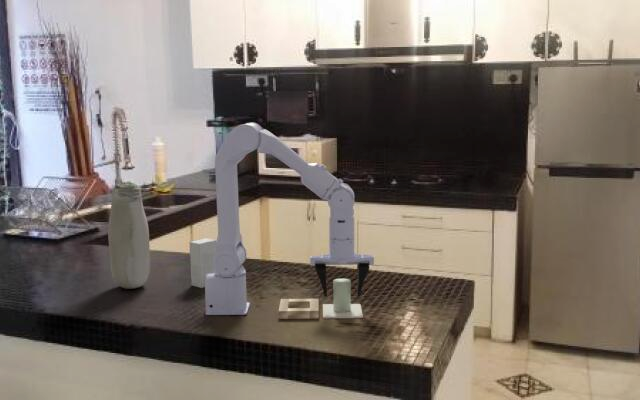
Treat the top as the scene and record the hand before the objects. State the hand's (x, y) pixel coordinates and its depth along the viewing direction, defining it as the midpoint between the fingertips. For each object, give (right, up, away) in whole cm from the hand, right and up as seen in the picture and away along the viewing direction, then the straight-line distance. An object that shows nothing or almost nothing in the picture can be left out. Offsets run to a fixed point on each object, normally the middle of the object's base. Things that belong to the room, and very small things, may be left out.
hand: (342, 295), depth 154 cm
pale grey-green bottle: (-55, -1, +22) cm, 59 cm away
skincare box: (-36, -1, +24) cm, 43 cm away
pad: (0, -4, +1) cm, 4 cm away
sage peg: (0, -4, +1) cm, 4 cm away
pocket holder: (-10, -4, +1) cm, 11 cm away
